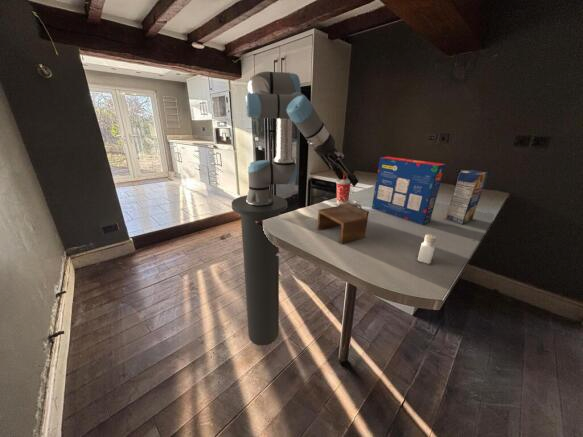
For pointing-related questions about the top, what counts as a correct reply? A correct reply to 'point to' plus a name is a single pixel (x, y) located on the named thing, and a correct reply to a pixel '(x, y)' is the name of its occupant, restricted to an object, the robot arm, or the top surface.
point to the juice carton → (466, 196)
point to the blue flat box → (407, 188)
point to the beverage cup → (343, 190)
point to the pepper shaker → (427, 249)
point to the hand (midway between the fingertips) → (349, 181)
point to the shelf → (345, 221)
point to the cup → (354, 203)
